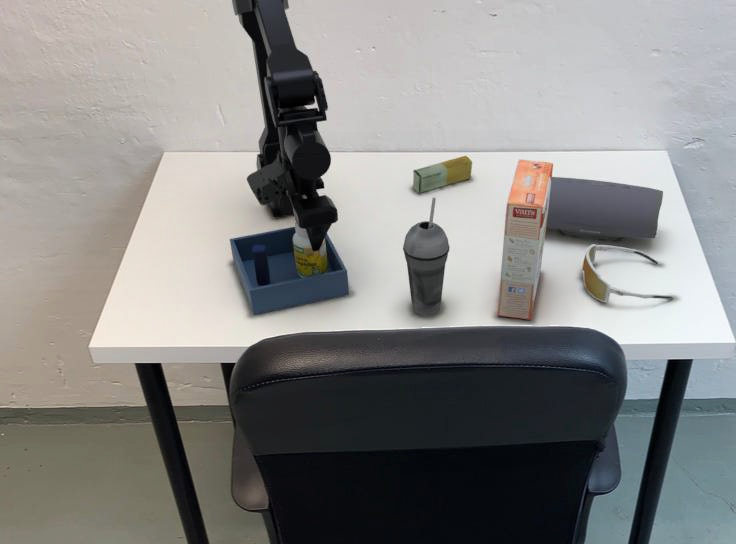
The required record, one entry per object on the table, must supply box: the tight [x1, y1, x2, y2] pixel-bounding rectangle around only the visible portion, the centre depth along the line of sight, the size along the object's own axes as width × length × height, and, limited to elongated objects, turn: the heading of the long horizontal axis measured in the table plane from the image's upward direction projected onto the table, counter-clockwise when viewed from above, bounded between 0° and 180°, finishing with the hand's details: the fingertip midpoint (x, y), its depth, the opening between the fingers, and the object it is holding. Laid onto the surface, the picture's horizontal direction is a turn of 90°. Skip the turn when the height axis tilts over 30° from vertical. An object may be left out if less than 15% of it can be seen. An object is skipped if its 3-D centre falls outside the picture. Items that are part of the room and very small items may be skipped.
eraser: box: [252, 245, 270, 286], centre depth 149 cm, size 2×2×7 cm
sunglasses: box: [581, 243, 675, 303], centre depth 150 cm, size 14×15×5 cm
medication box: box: [412, 155, 473, 194], centre depth 174 cm, size 12×3×4 cm, turn 119°
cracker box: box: [497, 159, 554, 321], centre depth 142 cm, size 14×6×21 cm, turn 168°
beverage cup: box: [402, 197, 450, 317], centre depth 139 cm, size 7×7×20 cm
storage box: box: [229, 226, 350, 316], centre depth 151 cm, size 16×16×5 cm
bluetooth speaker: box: [546, 176, 664, 241], centre depth 159 cm, size 23×9×10 cm, turn 77°
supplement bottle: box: [293, 221, 328, 278], centre depth 150 cm, size 5×5×10 cm
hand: (308, 236), depth 148 cm, fingers open, 9 cm apart
